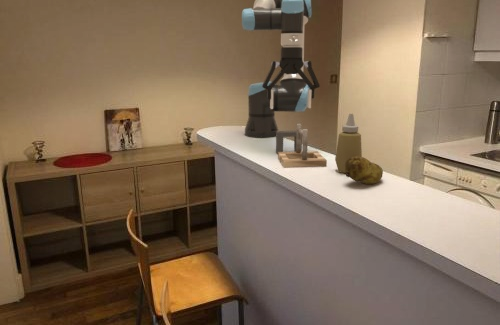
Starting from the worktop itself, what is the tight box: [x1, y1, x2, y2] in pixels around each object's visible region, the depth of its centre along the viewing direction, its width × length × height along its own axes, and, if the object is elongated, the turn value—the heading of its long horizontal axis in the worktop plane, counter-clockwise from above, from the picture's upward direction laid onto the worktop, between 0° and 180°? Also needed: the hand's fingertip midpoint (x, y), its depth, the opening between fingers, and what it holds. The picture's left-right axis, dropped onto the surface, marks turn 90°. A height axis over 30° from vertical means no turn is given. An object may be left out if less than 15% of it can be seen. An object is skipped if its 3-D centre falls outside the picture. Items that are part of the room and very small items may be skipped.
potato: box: [345, 156, 384, 185], centre depth 116 cm, size 8×13×8 cm, turn 105°
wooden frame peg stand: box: [277, 123, 328, 169], centre depth 139 cm, size 13×14×12 cm
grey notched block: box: [275, 130, 303, 155], centre depth 152 cm, size 9×3×8 cm, turn 95°
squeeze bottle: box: [334, 113, 363, 174], centre depth 126 cm, size 8×8×18 cm
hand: (290, 108), depth 148 cm, fingers open, 13 cm apart
